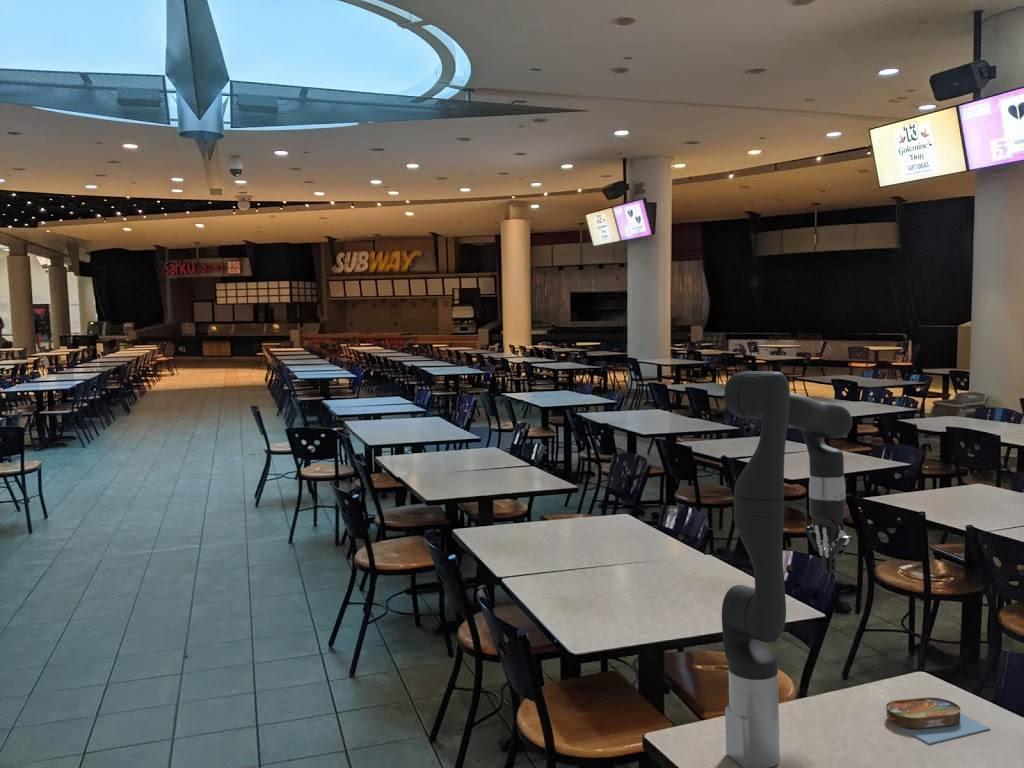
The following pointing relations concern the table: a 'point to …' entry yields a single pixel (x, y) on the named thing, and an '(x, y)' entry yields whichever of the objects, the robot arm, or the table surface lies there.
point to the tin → (923, 713)
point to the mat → (947, 730)
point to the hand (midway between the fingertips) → (828, 572)
